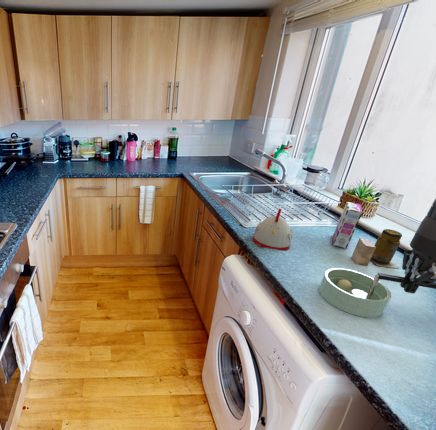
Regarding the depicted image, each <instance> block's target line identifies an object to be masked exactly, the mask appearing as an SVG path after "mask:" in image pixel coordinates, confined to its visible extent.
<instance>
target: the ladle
mask: <svg viewBox="0 0 436 430" xmlns="http://www.w3.org/2000/svg"><path fill="white" fill-rule="evenodd" d="M373 278H374V280H373V282H372V284H371V287H370V289H369V291H368V293H366V292H364V291H362V290H358V289H353V290H352V291H351V294H352V295H355V296H358V297H361V298H365V299H370V298H371V297H370V296H372V295H373V293H374V290H375V288H376V286H377V284H378V282H380V280H383V281H387V282H394V283H400V284H401V283H405V284H407V282H408V281H409V280H410V278H406V277H405V276H400V275H393V274H387V273H381V272H377V274H375V276H374V277H373ZM419 287H422V288H428V289H433V290H434V289H435V290H436V281H435V282H433V283H431V284H430V285H423V284H420V285H419Z"/></svg>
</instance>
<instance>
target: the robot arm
mask: <svg viewBox="0 0 436 430" xmlns="http://www.w3.org/2000/svg"><path fill="white" fill-rule="evenodd" d="M409 246H410V248H411V249H408V248H404V250H403V257H402V266H401V269H402V270H403V271H404V273H403V274H404V277H406V278H410V280H409V281H408V282H407V284H405V283H400V284H399V285H400V287H401V288H402V289H403V291H404V292H405V293H408V294H416V293H417V291H418V289H419V287H420V286H419V285H420V284H423V285H430V284H431V283H433V282H435V283H436V198H434V200H433V202H432V203H431V206H430V208H429V209H428V212H427V213H426V215H425V216H424V218H423V219H422V220H421V222H420V223H419V226H418V228H417V229H416V231H415V233H414V235H413V237H412V238H411V241H410V242H409Z"/></svg>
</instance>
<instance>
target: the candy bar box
mask: <svg viewBox="0 0 436 430" xmlns="http://www.w3.org/2000/svg"><path fill="white" fill-rule="evenodd" d="M362 209H363V208H362V204H360V203H357V202H350V201H346V203H345V205H344V208H343V210H342V212H341V215H340V217H339V220H338V223H337V225H336V227H335V229H334V232H333V235H332V246H334V247H336V248H340V249H344V250H347V249H348V247H349V244H350V243H351V240H352V237H353V236H354V233H355V231H356V228H357V226H358V225H359V222H360V219H361V217H362V215H363V210H362Z"/></svg>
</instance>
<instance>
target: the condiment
mask: <svg viewBox="0 0 436 430" xmlns="http://www.w3.org/2000/svg"><path fill="white" fill-rule="evenodd" d="M402 237H403V234H402V232H400V231H397V230H395V229H389V228H385V229H382V231H381V233H380V235H378V237H377V239H376V241H375V243H374V244H373V245H374V246H375V247H376V249H375V251H374V253H373V255H372V257H371V259H370V262H372V263H373V264H375V265H376V266H377V267H383V268H389V269H399V267H398V265H396V264H395V263H394V262H392V260H393V258H394V257H395V256H394V255H395V254H396V252H397V250H398V248H399V246H400V244H401V239H402Z"/></svg>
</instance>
